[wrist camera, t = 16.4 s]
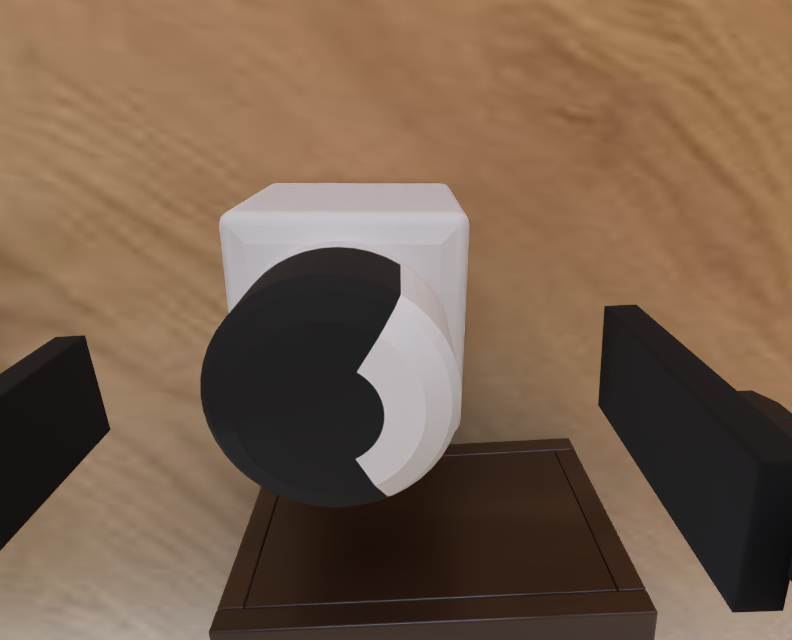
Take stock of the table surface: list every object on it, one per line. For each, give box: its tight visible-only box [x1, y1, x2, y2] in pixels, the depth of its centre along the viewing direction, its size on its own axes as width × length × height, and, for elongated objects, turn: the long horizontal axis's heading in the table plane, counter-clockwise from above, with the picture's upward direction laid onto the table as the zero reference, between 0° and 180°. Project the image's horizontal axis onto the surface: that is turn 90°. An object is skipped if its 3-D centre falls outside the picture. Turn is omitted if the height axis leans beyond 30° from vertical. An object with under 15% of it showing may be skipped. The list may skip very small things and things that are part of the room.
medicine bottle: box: [201, 183, 470, 507], centre depth 18 cm, size 7×7×12 cm
